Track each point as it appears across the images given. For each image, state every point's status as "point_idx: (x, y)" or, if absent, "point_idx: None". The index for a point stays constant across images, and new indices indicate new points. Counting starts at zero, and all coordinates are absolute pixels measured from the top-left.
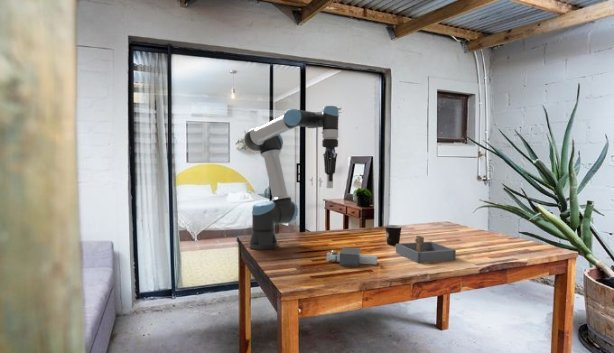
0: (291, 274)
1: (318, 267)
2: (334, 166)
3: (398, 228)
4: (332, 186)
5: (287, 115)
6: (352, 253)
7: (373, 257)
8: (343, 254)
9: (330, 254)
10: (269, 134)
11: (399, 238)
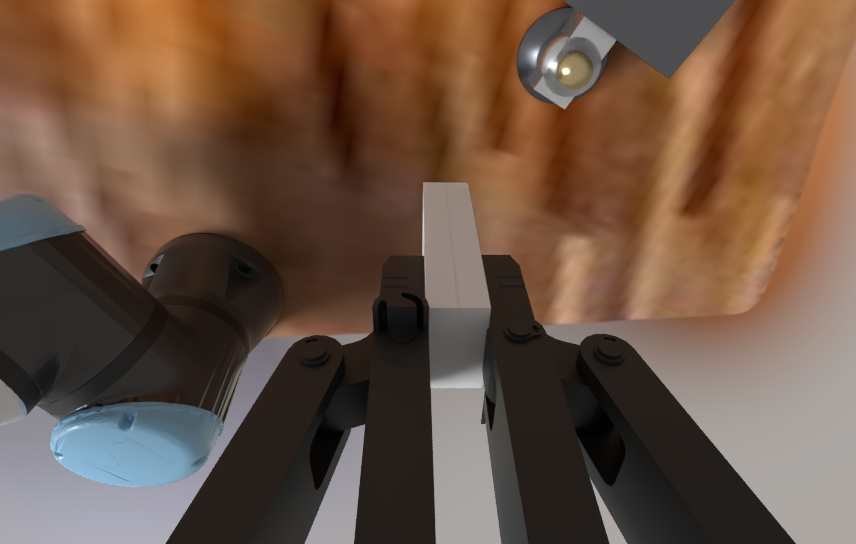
0: (630, 265)
1: (604, 155)
2: (721, 484)
3: None
4: (468, 199)
5: None
6: (710, 5)
7: None
8: (682, 59)
9: (577, 91)
10: None
11: None
